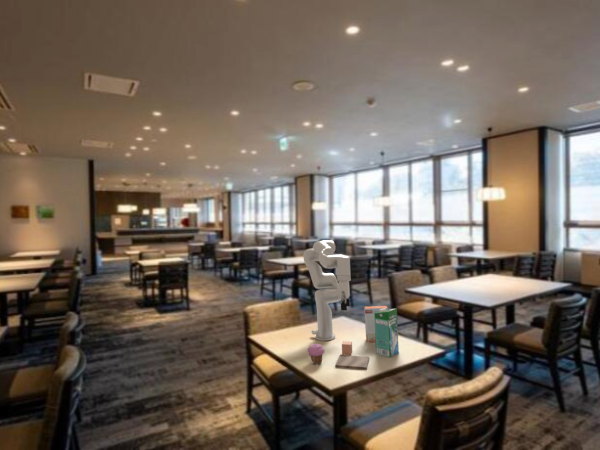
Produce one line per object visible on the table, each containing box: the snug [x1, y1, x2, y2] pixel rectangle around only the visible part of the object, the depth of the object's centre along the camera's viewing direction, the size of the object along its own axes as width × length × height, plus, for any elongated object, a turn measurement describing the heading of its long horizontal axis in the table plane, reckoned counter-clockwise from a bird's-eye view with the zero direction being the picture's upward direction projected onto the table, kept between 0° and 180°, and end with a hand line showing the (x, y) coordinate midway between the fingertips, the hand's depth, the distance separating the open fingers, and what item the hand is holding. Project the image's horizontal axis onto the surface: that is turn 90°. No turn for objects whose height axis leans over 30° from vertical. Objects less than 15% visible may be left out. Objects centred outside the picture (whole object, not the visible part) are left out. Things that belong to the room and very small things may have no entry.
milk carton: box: [374, 308, 400, 358], centre depth 201 cm, size 9×9×25 cm
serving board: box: [334, 354, 370, 370], centre depth 189 cm, size 16×14×1 cm
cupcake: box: [307, 343, 325, 365], centre depth 192 cm, size 9×9×10 cm
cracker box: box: [363, 305, 389, 343], centre depth 222 cm, size 14×6×21 cm, turn 84°
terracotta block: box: [341, 340, 353, 356], centre depth 203 cm, size 5×5×6 cm
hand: (345, 308), depth 203 cm, fingers open, 9 cm apart
